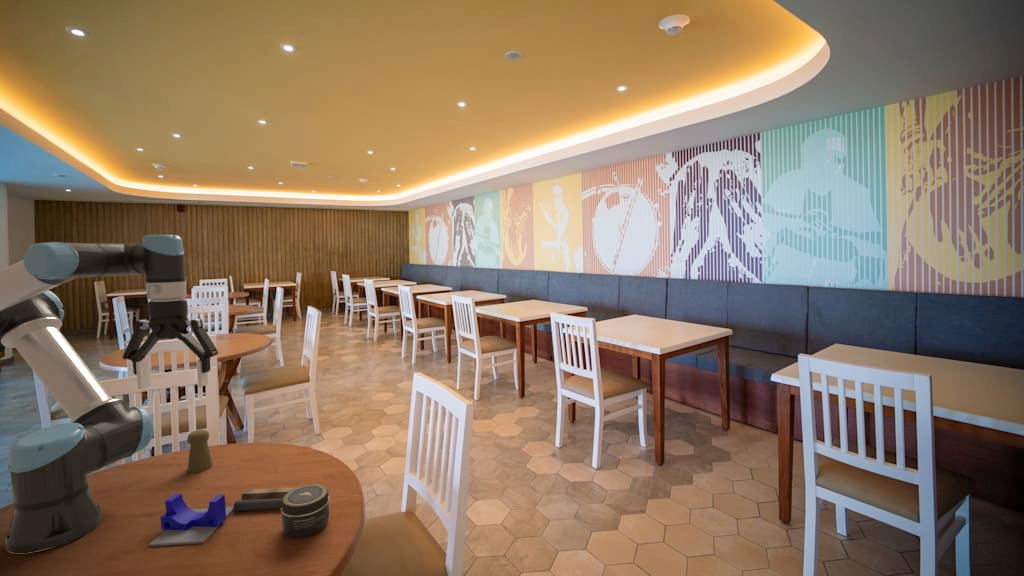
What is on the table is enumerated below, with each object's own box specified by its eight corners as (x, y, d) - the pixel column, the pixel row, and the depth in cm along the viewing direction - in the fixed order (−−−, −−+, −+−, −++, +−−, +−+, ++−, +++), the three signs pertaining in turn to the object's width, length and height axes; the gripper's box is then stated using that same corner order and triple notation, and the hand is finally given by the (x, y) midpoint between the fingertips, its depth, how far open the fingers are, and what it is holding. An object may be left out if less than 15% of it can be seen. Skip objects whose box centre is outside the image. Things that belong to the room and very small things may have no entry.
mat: (149, 546, 95) (148, 544, 95) (187, 511, 108) (187, 509, 108) (202, 543, 96) (202, 541, 96) (235, 508, 109) (234, 506, 109)
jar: (285, 518, 105) (284, 487, 104) (331, 509, 108) (329, 479, 108) (279, 544, 96) (277, 510, 95) (329, 534, 99) (327, 501, 98)
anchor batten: (241, 503, 111) (241, 493, 111) (245, 499, 113) (245, 489, 113) (299, 500, 112) (298, 490, 112) (302, 496, 114) (301, 486, 114)
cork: (216, 466, 131) (214, 430, 130) (193, 474, 126) (190, 437, 125) (206, 460, 134) (204, 425, 133) (183, 469, 129) (181, 432, 128)
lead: (235, 513, 108) (232, 508, 107) (239, 503, 110) (236, 498, 109) (294, 509, 110) (292, 505, 108) (297, 500, 111) (295, 495, 110)
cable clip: (161, 529, 100) (159, 504, 100) (177, 517, 105) (175, 493, 104) (212, 531, 99) (210, 505, 99) (226, 519, 104) (224, 494, 103)
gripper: (98, 302, 101) (105, 393, 102) (213, 300, 103) (218, 389, 105) (123, 298, 108) (130, 383, 110) (230, 297, 110) (235, 380, 112)
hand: (173, 386), depth 107 cm, fingers open, 13 cm apart
